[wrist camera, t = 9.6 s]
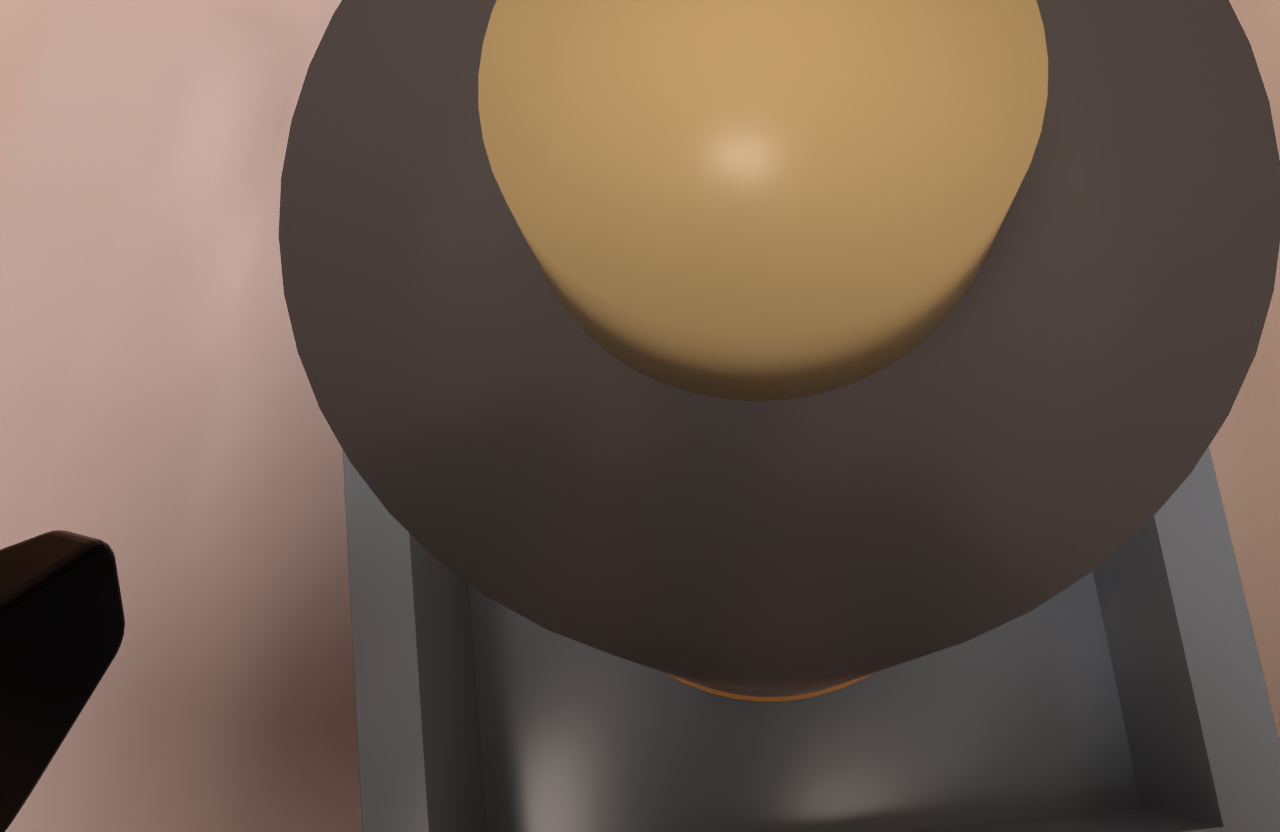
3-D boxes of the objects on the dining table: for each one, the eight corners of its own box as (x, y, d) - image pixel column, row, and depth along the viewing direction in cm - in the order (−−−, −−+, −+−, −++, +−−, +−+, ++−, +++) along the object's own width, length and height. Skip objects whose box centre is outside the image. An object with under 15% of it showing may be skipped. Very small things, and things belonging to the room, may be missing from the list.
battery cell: (729, 775, 17) (612, 975, 4) (528, 489, 18) (-16, -6, 6) (1015, 561, 17) (1696, 159, 5) (798, 294, 18) (862, -594, 6)
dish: (457, 931, 18) (370, 993, 14) (410, 264, 20) (327, 158, 16) (1190, 853, 17) (1316, 895, 13) (1042, 170, 20) (1110, 38, 16)
